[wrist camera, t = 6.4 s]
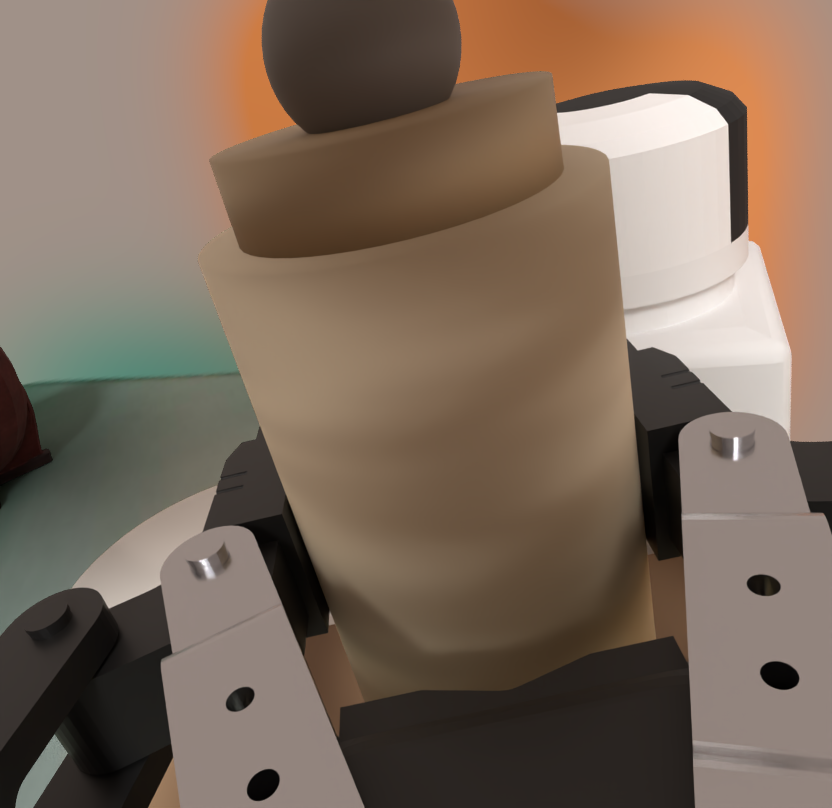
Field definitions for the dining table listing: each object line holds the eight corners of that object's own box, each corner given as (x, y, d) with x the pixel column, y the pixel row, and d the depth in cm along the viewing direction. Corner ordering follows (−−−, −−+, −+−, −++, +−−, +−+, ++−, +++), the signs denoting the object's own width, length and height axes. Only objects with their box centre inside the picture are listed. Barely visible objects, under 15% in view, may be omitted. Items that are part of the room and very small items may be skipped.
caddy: (90, 1213, 11) (27, 1162, 10) (208, 711, 19) (180, 658, 18) (962, 1052, 10) (982, 981, 9) (697, 605, 18) (694, 544, 17)
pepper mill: (432, 986, 12) (-1, -28, 5) (415, 734, 17) (165, 5, 10) (721, 929, 12) (660, -206, 5) (624, 690, 16) (522, -87, 10)
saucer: (-7, 789, 18) (-27, 764, 18) (124, 527, 28) (113, 507, 27) (413, 699, 18) (404, 670, 17) (396, 464, 27) (390, 443, 27)
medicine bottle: (544, 451, 26) (484, 105, 20) (760, 447, 23) (759, 47, 18) (506, 592, 20) (409, 160, 15) (788, 607, 17) (800, 87, 12)
